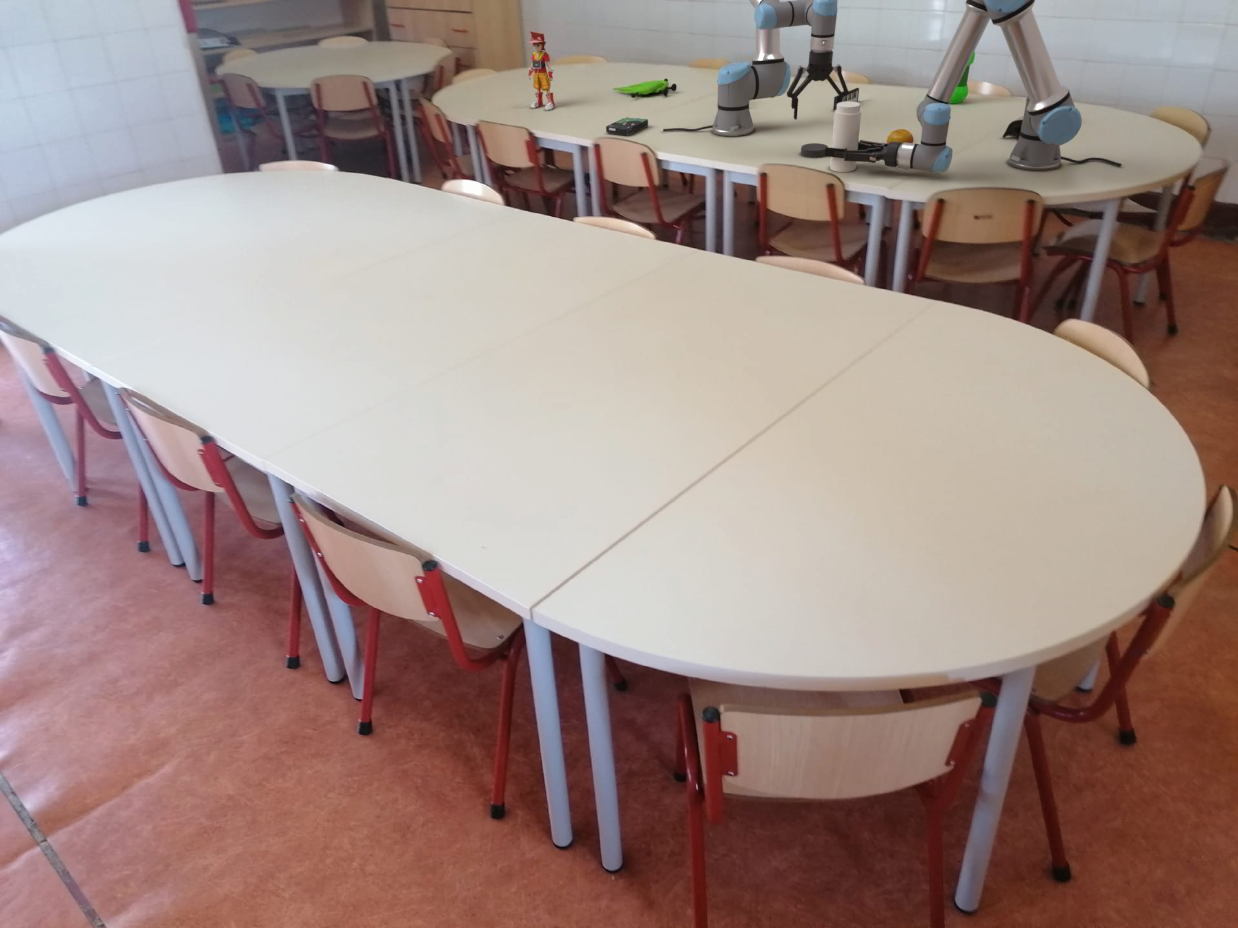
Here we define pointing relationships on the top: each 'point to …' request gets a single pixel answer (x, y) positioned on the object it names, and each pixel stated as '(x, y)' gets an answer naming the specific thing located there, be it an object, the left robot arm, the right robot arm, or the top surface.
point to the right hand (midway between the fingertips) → (830, 148)
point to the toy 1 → (541, 71)
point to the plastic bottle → (962, 85)
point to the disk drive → (627, 126)
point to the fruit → (900, 136)
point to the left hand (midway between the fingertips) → (815, 118)
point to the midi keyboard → (849, 96)
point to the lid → (813, 150)
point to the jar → (845, 133)
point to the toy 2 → (648, 88)
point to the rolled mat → (1014, 128)
